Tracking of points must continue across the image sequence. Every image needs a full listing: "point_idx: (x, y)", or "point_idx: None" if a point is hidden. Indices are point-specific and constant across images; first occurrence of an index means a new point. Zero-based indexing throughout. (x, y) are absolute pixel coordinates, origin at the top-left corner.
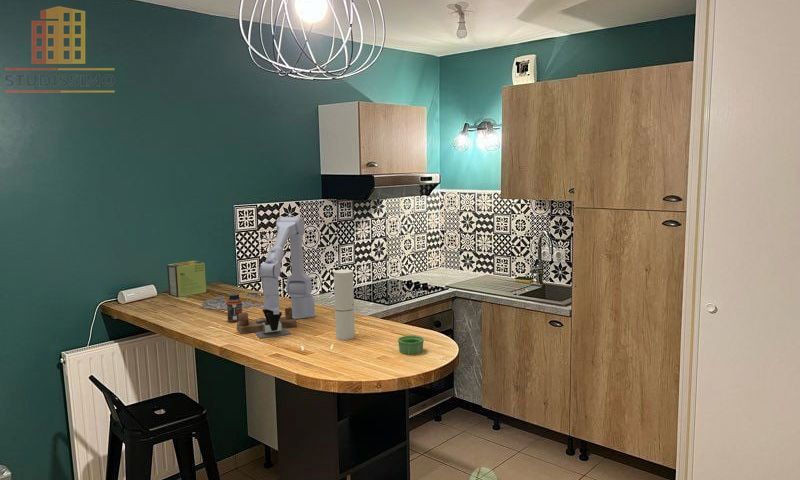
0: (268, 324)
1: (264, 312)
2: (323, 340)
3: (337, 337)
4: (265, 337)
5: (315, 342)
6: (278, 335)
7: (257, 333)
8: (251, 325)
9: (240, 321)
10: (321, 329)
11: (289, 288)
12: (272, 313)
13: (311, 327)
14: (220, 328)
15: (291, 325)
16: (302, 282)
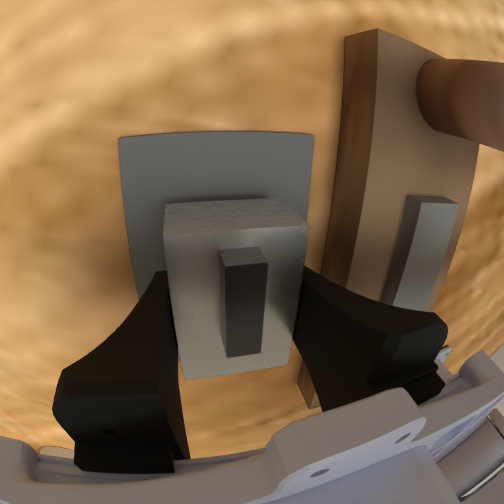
0: (192, 280)
1: (372, 335)
2: (29, 420)
3: (48, 450)
4: (122, 189)
5: (3, 396)
6: (137, 291)
7: (270, 145)
8: (400, 136)
9: (458, 61)
10: (191, 443)
11: (496, 439)
12: (96, 444)
13: (244, 424)
14: (485, 31)
15: (305, 373)
16: (462, 493)
